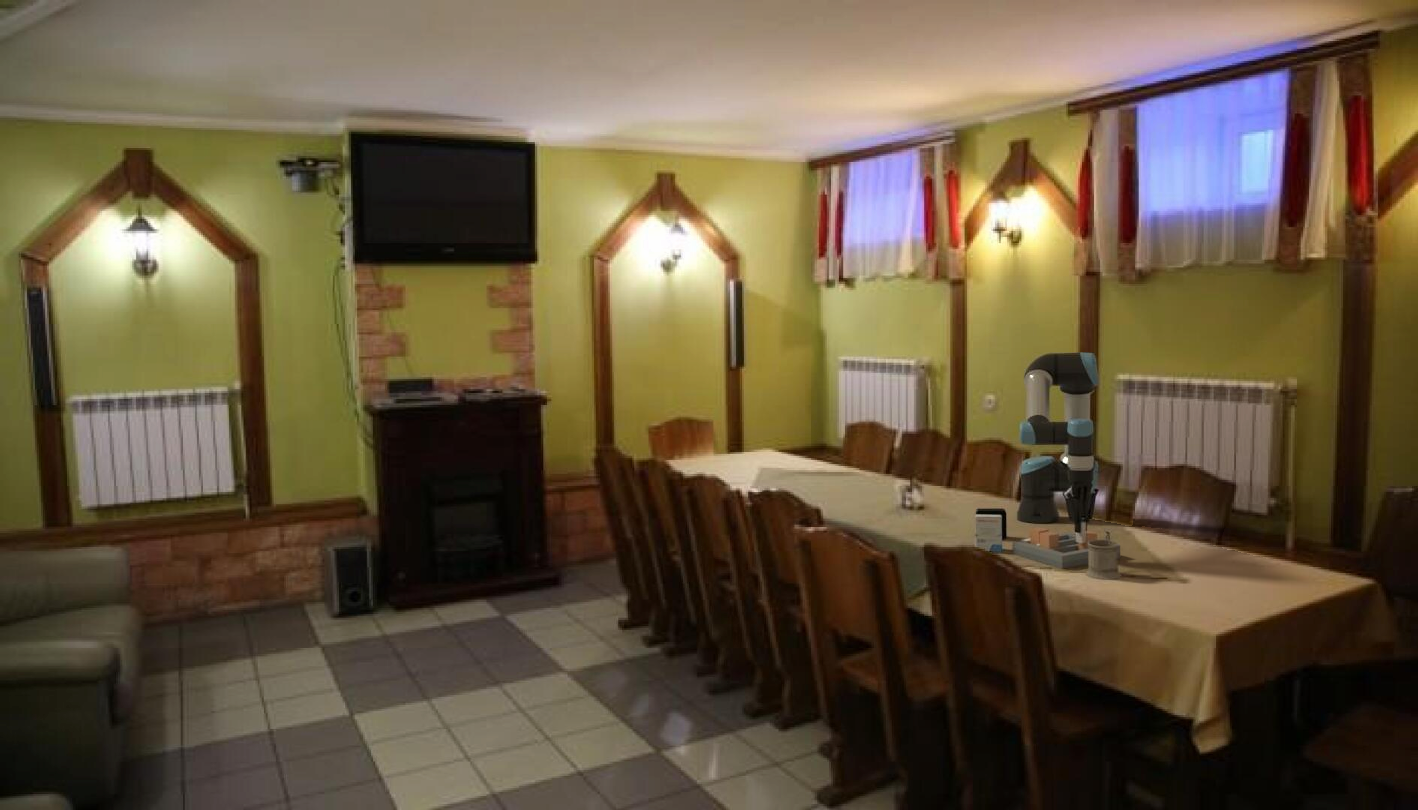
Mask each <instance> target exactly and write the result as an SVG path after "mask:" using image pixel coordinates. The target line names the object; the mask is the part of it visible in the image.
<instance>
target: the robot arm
mask: <svg viewBox="0 0 1418 810" xmlns="http://www.w3.org/2000/svg"><path fill="white" fill-rule="evenodd" d="M1023 384H1024V387H1025V388H1026V399H1025V400H1026V406H1025V407H1026V410H1025V411H1026V412H1025V421H1022V422H1020V423H1019V442H1020V443H1021V444H1022V445H1028V446H1029V445H1031V446H1043V445H1044V446H1047V445H1048V446H1064V452H1063V453H1062V454H1061V455H1060V457H1059V460H1055V458H1054V457H1053V456H1052V455H1050V456H1049V455H1048V456H1046V455H1042V456H1035V457H1034V456H1033V457H1030V458H1026V459H1024V460H1023V461H1022V462H1021V465H1020V466H1021V467H1020V468H1021V469H1020V470H1021V471H1020V476H1021V478H1020V479H1021V485H1020V486H1021V487H1020V488H1021V490H1020V491H1021V498H1020V503H1019V507H1018V509H1017V511H1016V520H1018V521H1019V522H1024V523H1030V524H1031V523H1032V524H1050V523H1055V522H1058V521H1060V513H1059V511H1058V506H1057V504H1056V501H1055V493H1062V496H1063V498H1064V500H1065V505H1066V510H1067V515H1068V516H1067V517H1068V520H1069V521H1071V522H1073V523H1074V532H1075V534H1076V542H1079V543H1086V531H1088V523H1090V522H1091V520H1092V519H1093V517H1094V510H1095V504H1096V500H1097V495H1098V493H1099V491H1100V490H1099V488H1096V485H1097V482H1098V481H1097V480H1098V475H1099V474H1098V472H1099V462H1098V461H1097V460H1095V457H1094V429H1095V428H1094V421H1093V420H1092V419H1091V394H1092V393H1094V392H1095V390H1096V389H1095V388H1096V387H1097V386H1099V385H1100V379H1099V373H1098V366H1097V359H1096V355H1095V353H1092V352H1082V351H1081V352H1060V353H1057V352H1055V353H1053V352H1052V353H1051V352H1049V353H1045V354H1043V355H1041V356H1038V357H1037V358H1035V359H1034V360H1033V361H1031V363H1029V365H1028V367H1027V368H1026V370H1025V372H1024V375H1023ZM1052 387H1059V391H1060V392H1061V393H1062V394H1063V395H1064V421H1051V419H1050V418H1051V416H1050V415H1051V411H1050V410H1051V408H1050V407H1051V405H1050V404H1051V402H1050V401H1051V399H1050V397H1051V395H1050V392H1051V391H1050V389H1051V388H1052Z"/></svg>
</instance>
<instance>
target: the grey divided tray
mask: <svg viewBox="0 0 1418 810" xmlns="http://www.w3.org/2000/svg"><path fill="white" fill-rule="evenodd" d="M1058 534H1059V547H1058V548H1052V549H1047V548H1044V547H1040V544H1037V545H1033V544H1030V538H1024V539H1020V540H1015V541H1012V545H1011V546H1012V547H1011V548H1012V555H1015V556H1019V557H1021V558H1025V559H1029V560H1031V561H1035V562H1039V563H1042V564H1045V565H1047V566H1052V567H1054V568H1058V569H1061V570H1064V569H1070V568H1074V567H1079V566H1085V565H1086V566H1087V565H1089V548H1088V549H1083V550H1078V542H1076V533H1073V532H1070V531H1068V532H1062V533H1058ZM1118 559H1121V545H1120V544H1119V546H1118Z"/></svg>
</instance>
